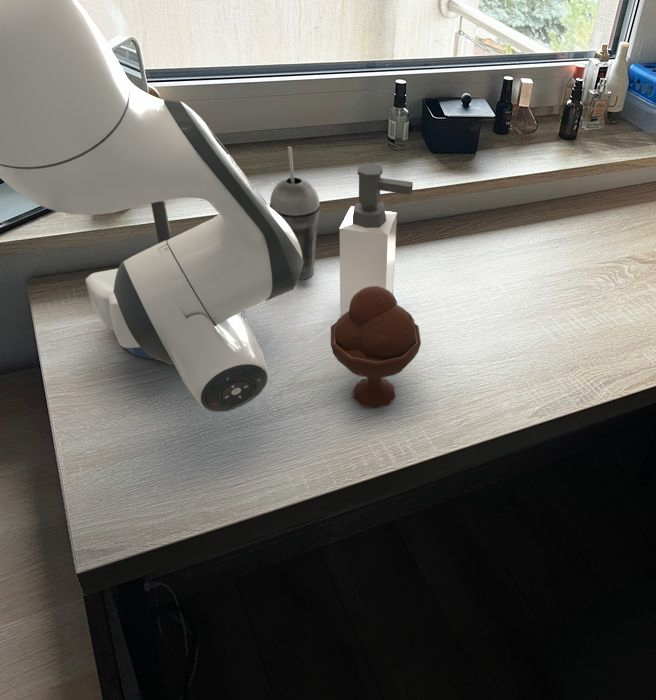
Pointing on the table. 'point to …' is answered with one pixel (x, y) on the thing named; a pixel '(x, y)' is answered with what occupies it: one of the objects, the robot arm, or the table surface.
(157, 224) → the peg stand
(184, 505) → the table surface
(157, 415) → the table surface
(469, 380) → the table surface
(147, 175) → the robot arm
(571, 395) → the table surface
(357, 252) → the soap dispenser
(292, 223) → the beverage cup
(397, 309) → the ice cream bowl
